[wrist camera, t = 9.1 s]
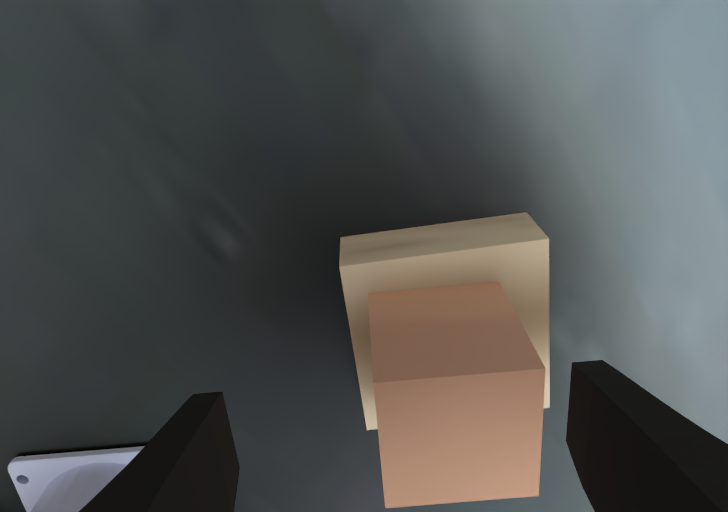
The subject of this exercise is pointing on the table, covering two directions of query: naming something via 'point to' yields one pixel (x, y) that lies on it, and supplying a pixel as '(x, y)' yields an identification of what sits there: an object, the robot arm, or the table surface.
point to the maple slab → (447, 277)
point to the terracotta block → (455, 396)
